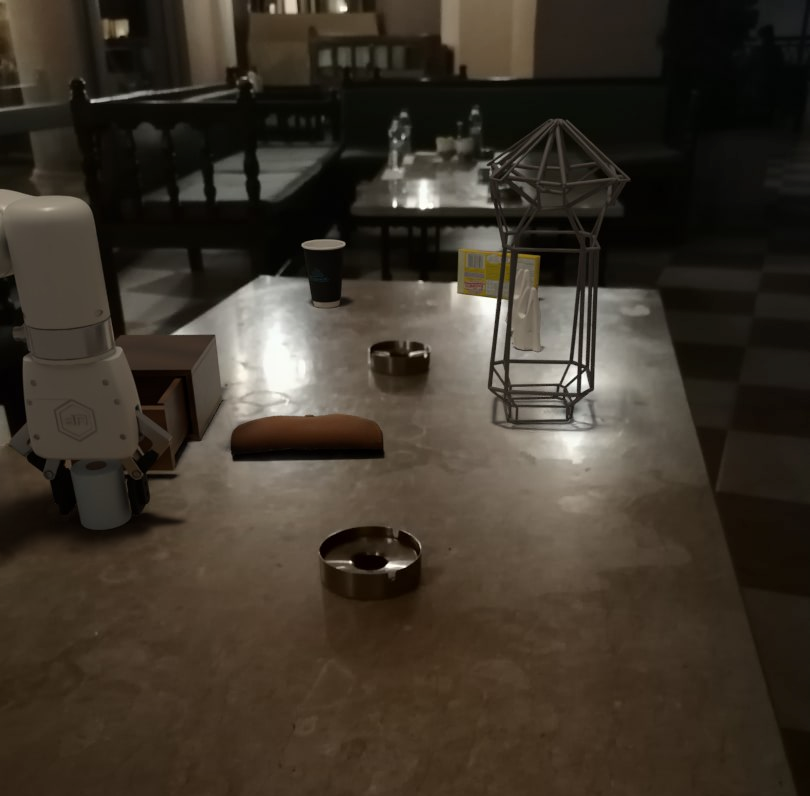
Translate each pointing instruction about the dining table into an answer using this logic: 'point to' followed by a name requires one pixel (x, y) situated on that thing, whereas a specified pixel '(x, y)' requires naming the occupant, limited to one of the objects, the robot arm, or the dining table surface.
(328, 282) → the dixie cup
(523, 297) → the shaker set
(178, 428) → the drawer
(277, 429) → the sunglasses case
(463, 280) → the candy box
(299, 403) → the dining table surface
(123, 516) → the paper roll
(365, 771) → the dining table surface
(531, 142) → the geometric lantern
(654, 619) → the dining table surface
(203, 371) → the cabinet
